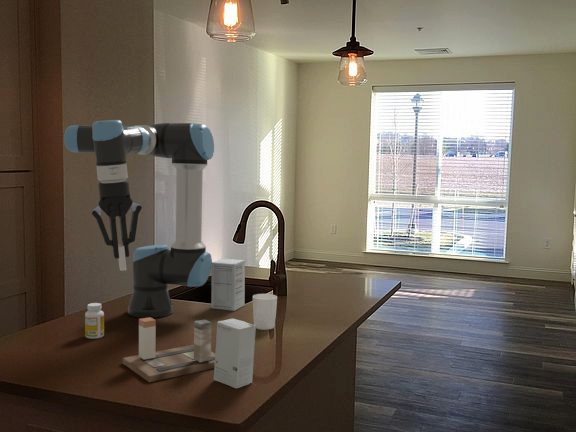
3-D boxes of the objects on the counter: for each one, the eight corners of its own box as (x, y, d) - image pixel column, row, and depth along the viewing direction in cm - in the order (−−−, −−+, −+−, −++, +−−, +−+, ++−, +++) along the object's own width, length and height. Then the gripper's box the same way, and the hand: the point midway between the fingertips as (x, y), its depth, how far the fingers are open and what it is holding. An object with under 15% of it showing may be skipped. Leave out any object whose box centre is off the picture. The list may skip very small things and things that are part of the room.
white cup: (273, 331, 196) (274, 300, 195) (249, 329, 197) (249, 298, 196) (278, 324, 204) (279, 294, 203) (255, 322, 205) (256, 293, 204)
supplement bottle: (98, 332, 190) (98, 301, 189) (107, 336, 186) (107, 304, 185) (81, 335, 186) (81, 304, 185) (90, 340, 182) (90, 307, 181)
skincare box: (213, 380, 153) (214, 321, 151) (230, 374, 157) (231, 317, 156) (237, 389, 147) (238, 328, 146) (255, 383, 152) (256, 323, 150)
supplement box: (245, 305, 228) (246, 260, 226) (234, 311, 219) (235, 264, 217) (221, 302, 231) (222, 257, 229) (210, 308, 222) (211, 261, 220)
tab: (144, 359, 160) (144, 321, 159) (138, 356, 163) (138, 318, 162) (155, 357, 162) (155, 320, 161) (150, 354, 165) (150, 317, 164)
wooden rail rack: (149, 382, 150) (149, 333, 149) (122, 363, 163) (122, 318, 162) (226, 365, 164) (227, 320, 163) (196, 349, 176) (197, 307, 175)
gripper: (88, 185, 154) (99, 276, 158) (141, 179, 159) (150, 268, 163) (85, 182, 161) (95, 270, 165) (136, 177, 166) (144, 262, 170)
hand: (123, 269), depth 164 cm, fingers closed
